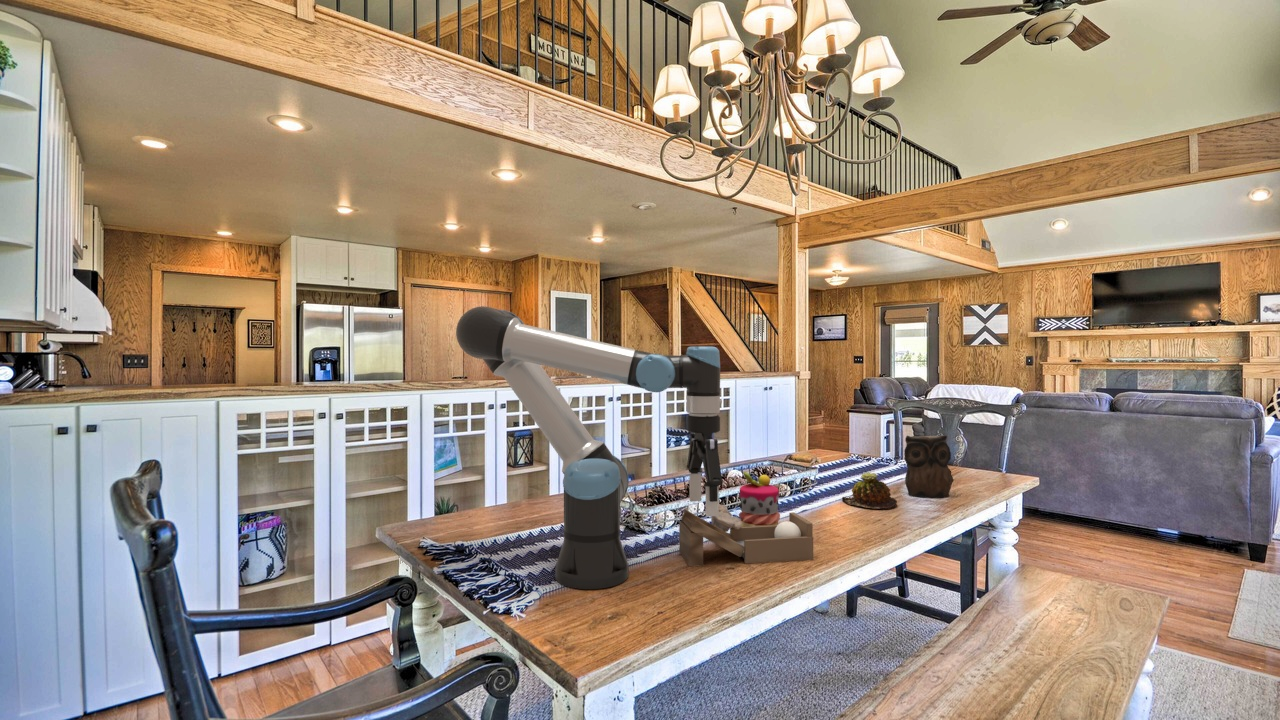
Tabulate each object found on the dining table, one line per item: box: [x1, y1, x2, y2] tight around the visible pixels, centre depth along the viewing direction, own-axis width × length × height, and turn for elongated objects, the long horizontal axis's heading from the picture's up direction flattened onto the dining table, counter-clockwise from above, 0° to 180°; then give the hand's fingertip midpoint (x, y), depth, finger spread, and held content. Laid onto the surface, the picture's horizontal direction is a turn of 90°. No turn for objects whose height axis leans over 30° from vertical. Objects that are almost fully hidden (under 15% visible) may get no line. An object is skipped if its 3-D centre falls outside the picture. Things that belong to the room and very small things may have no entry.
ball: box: [774, 520, 801, 538], centre depth 138 cm, size 6×6×6 cm
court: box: [729, 512, 814, 565], centre depth 138 cm, size 16×11×8 cm, turn 100°
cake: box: [738, 471, 781, 527], centre depth 159 cm, size 10×11×15 cm
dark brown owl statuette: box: [903, 434, 954, 499], centre depth 198 cm, size 13×13×20 cm
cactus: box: [841, 472, 898, 510], centre depth 187 cm, size 17×16×10 cm
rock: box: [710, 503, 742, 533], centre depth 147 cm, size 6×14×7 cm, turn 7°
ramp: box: [678, 509, 745, 567], centre depth 136 cm, size 13×10×10 cm
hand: (703, 508), depth 136 cm, fingers open, 13 cm apart
